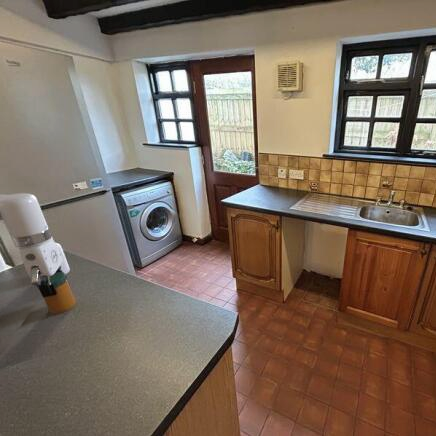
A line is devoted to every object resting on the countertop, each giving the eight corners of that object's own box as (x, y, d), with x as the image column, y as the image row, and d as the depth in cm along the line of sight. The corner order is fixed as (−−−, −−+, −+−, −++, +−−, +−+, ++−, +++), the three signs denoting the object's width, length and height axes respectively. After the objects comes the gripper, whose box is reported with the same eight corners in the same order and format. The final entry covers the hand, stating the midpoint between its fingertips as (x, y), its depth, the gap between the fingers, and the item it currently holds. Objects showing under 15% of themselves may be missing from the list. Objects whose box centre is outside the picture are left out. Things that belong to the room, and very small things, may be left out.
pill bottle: (51, 282, 89) (36, 246, 84) (37, 277, 92) (21, 242, 86) (75, 270, 96) (62, 236, 91) (61, 266, 99) (48, 233, 93)
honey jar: (46, 316, 74) (32, 288, 70) (54, 303, 80) (41, 276, 76) (72, 310, 77) (61, 283, 73) (78, 297, 82) (68, 271, 78)
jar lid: (64, 285, 74) (62, 280, 73) (34, 292, 70) (32, 287, 70) (69, 274, 79) (67, 269, 78) (41, 280, 76) (38, 275, 75)
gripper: (37, 248, 63) (61, 302, 70) (60, 223, 77) (78, 270, 84) (-3, 254, 60) (25, 310, 67) (28, 227, 74) (49, 276, 81)
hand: (54, 287), depth 75 cm, fingers closed on jar lid, 6 cm apart
